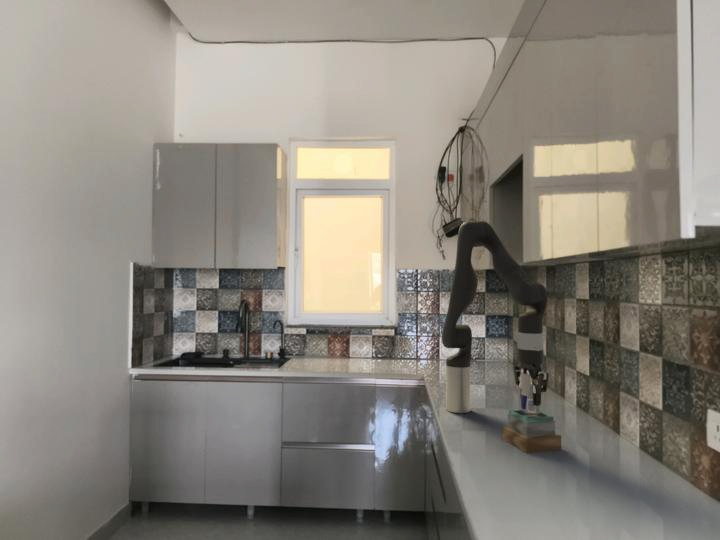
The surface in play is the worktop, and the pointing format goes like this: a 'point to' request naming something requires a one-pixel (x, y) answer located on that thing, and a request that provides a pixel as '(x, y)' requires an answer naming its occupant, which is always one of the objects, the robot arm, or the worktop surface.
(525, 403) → the energy drink
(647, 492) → the worktop surface
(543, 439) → the square stepped box
